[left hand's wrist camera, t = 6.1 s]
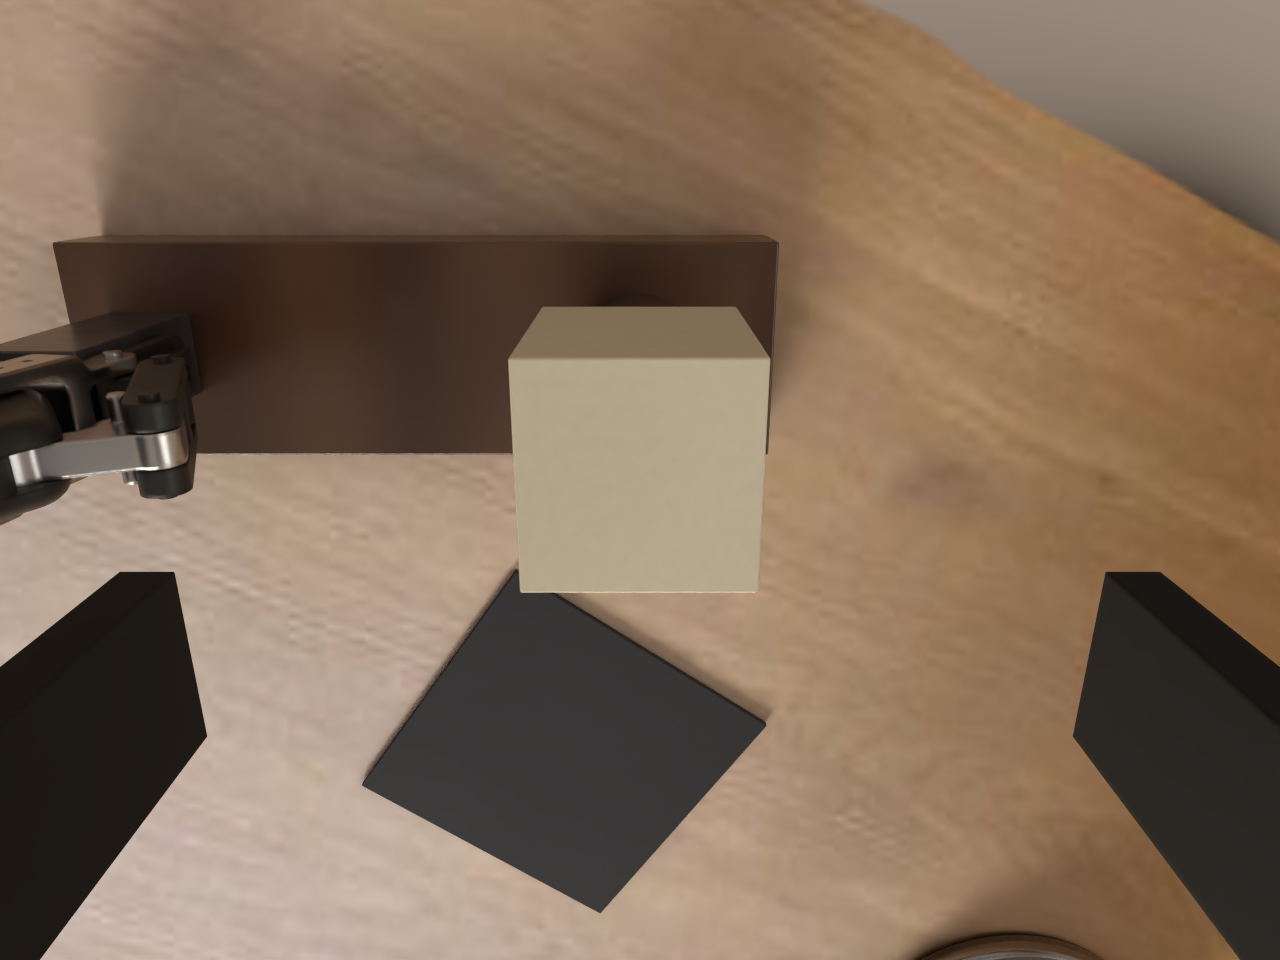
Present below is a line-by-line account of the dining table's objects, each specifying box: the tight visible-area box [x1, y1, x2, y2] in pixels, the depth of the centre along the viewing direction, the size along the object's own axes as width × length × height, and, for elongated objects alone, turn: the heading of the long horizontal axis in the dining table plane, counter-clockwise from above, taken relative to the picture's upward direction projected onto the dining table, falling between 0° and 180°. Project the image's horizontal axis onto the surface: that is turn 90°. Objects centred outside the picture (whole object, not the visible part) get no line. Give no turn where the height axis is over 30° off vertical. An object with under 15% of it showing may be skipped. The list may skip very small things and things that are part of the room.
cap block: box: [508, 307, 770, 593], centre depth 23 cm, size 6×6×7 cm
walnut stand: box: [0, 236, 779, 454], centre depth 31 cm, size 26×8×10 cm, turn 90°
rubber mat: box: [362, 570, 766, 913], centre depth 42 cm, size 14×14×1 cm
